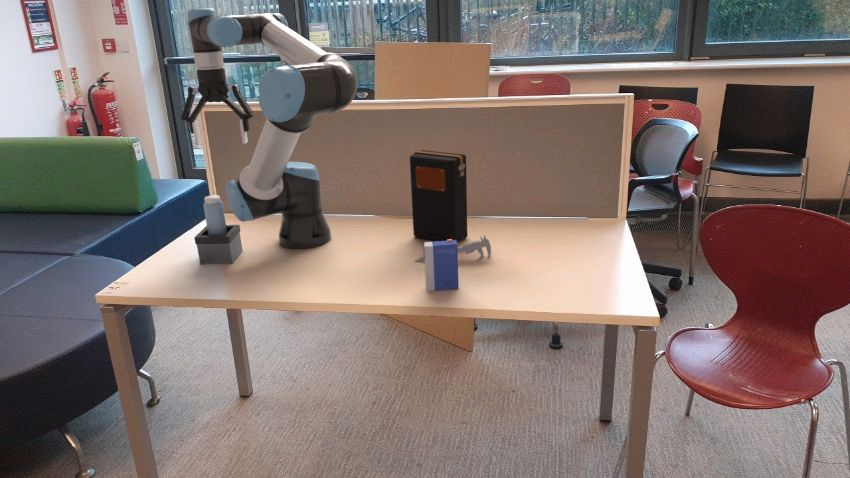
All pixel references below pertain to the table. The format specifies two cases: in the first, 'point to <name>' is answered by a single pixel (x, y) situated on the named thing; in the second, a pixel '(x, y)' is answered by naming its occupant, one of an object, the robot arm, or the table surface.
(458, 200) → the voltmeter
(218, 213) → the white-capped blue bottle
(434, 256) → the walkman
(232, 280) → the table surface
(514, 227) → the table surface
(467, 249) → the caliper
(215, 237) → the square planter pot
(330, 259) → the table surface
